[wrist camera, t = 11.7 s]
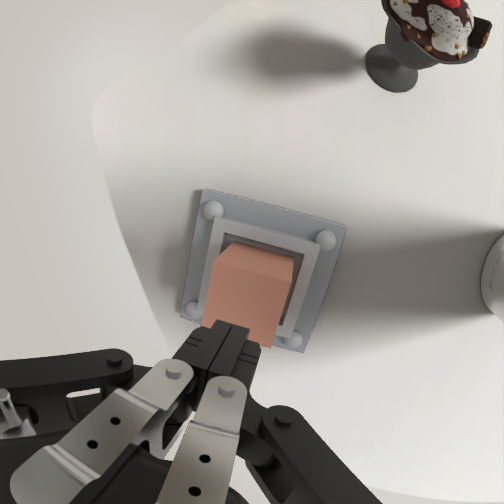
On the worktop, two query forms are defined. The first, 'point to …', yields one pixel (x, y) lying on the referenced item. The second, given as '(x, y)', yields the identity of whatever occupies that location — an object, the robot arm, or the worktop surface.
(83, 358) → the robot arm
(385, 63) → the sundae
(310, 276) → the plate
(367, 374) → the worktop surface
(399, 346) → the worktop surface
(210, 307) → the block
